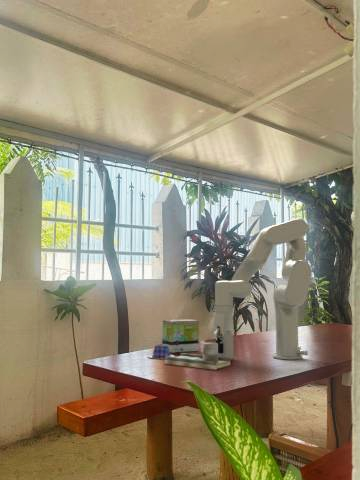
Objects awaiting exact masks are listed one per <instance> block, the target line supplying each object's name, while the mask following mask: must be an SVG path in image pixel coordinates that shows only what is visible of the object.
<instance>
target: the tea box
mask: <svg viewBox="0 0 360 480" xmlns="http://www.w3.org/2000/svg"><path fill="white" fill-rule="evenodd" d="M199 323H200V321H199V320H197V319H189V318H187V319H185V318H181V319H163V320H162V333H161V334H162V335H161V336H162V338H161V342H162V344H161V345H167V346H168V348H169V352H170V354H174V353H187V352H198V351H199V342H200V341H199V339H200V338H199V336H200V335H199V334H200V333H199V332H200V327H199V326H200V324H199Z"/></svg>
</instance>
